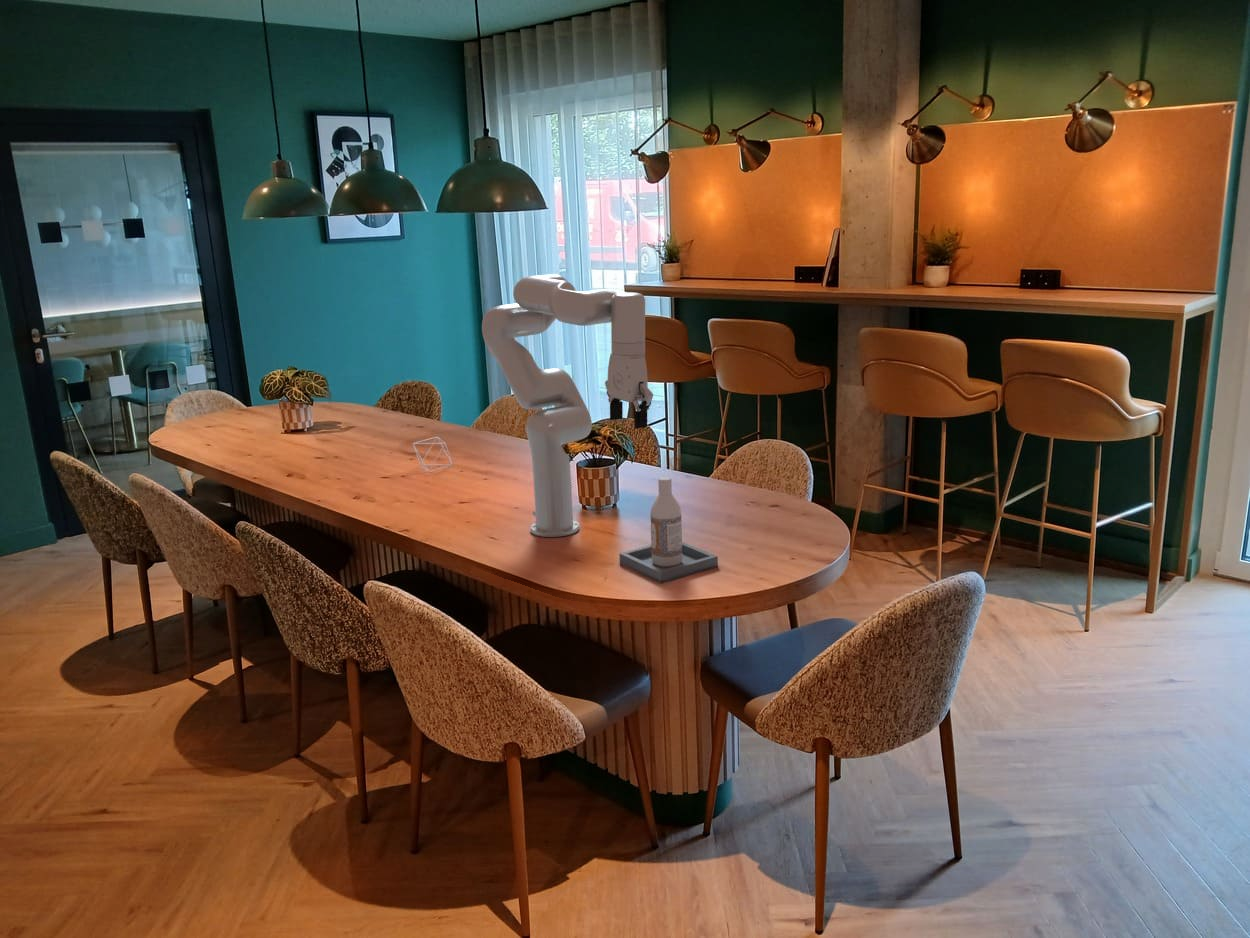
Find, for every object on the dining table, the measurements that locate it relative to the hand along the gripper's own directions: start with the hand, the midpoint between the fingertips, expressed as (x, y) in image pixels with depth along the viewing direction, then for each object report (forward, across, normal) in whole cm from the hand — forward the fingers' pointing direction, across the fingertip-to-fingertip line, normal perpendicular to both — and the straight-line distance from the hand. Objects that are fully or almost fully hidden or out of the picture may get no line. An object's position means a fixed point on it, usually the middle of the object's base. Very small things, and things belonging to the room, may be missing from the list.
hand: (628, 423), depth 218 cm
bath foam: (+31, +12, +2) cm, 33 cm away
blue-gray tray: (+31, +12, +2) cm, 34 cm away
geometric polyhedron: (+37, -109, -2) cm, 115 cm away
